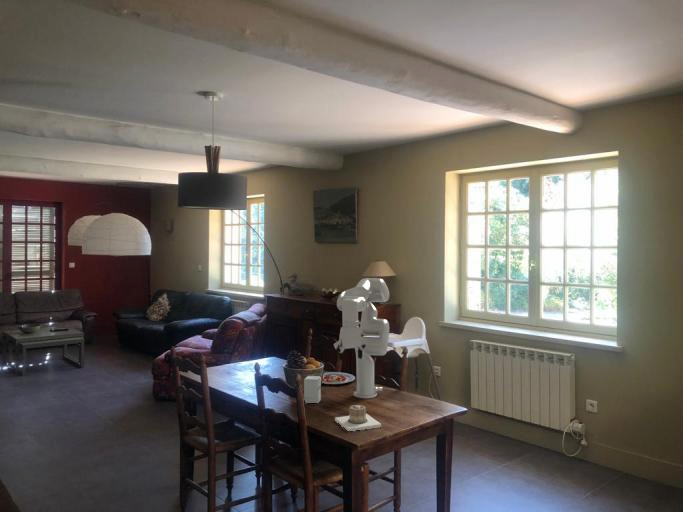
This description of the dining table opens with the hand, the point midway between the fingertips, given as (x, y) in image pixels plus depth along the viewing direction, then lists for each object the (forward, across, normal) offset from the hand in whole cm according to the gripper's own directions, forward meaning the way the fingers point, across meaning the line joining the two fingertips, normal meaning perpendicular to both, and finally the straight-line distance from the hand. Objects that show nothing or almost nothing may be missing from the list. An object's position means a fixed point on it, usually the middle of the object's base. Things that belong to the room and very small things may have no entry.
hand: (350, 359), depth 264 cm
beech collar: (+24, +4, +17) cm, 29 cm away
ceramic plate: (+29, -14, -58) cm, 66 cm away
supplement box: (+27, +12, -23) cm, 37 cm away
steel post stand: (+25, +5, +17) cm, 31 cm away
